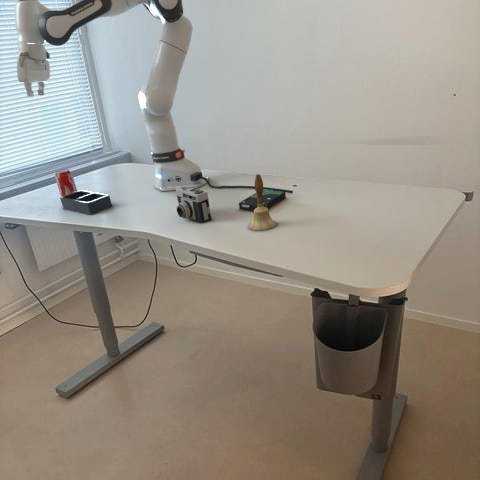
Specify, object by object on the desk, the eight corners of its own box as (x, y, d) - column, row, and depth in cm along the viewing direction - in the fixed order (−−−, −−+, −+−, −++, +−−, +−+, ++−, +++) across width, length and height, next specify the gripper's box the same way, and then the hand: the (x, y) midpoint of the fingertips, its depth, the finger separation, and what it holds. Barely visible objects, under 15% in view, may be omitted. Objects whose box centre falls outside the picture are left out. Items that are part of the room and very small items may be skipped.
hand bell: (257, 220, 159) (251, 170, 151) (280, 222, 155) (276, 171, 147) (244, 229, 153) (238, 178, 145) (268, 231, 149) (263, 179, 141)
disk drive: (264, 213, 164) (286, 198, 174) (263, 205, 162) (285, 190, 172) (239, 210, 169) (261, 196, 179) (238, 202, 168) (260, 188, 178)
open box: (112, 206, 192) (109, 194, 190) (90, 215, 186) (87, 203, 184) (84, 200, 204) (81, 189, 201) (63, 208, 198) (59, 197, 195)
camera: (170, 218, 171) (165, 190, 166) (190, 211, 175) (185, 183, 170) (192, 227, 161) (186, 197, 156) (212, 219, 165) (208, 190, 160)
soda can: (74, 201, 205) (65, 172, 199) (59, 202, 207) (50, 173, 201) (82, 195, 211) (73, 167, 205) (67, 196, 213) (58, 168, 206)
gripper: (28, 52, 164) (32, 98, 170) (51, 54, 182) (54, 95, 189) (9, 51, 164) (14, 96, 170) (34, 53, 182) (38, 93, 189)
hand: (36, 95), depth 180 cm, fingers open, 8 cm apart
